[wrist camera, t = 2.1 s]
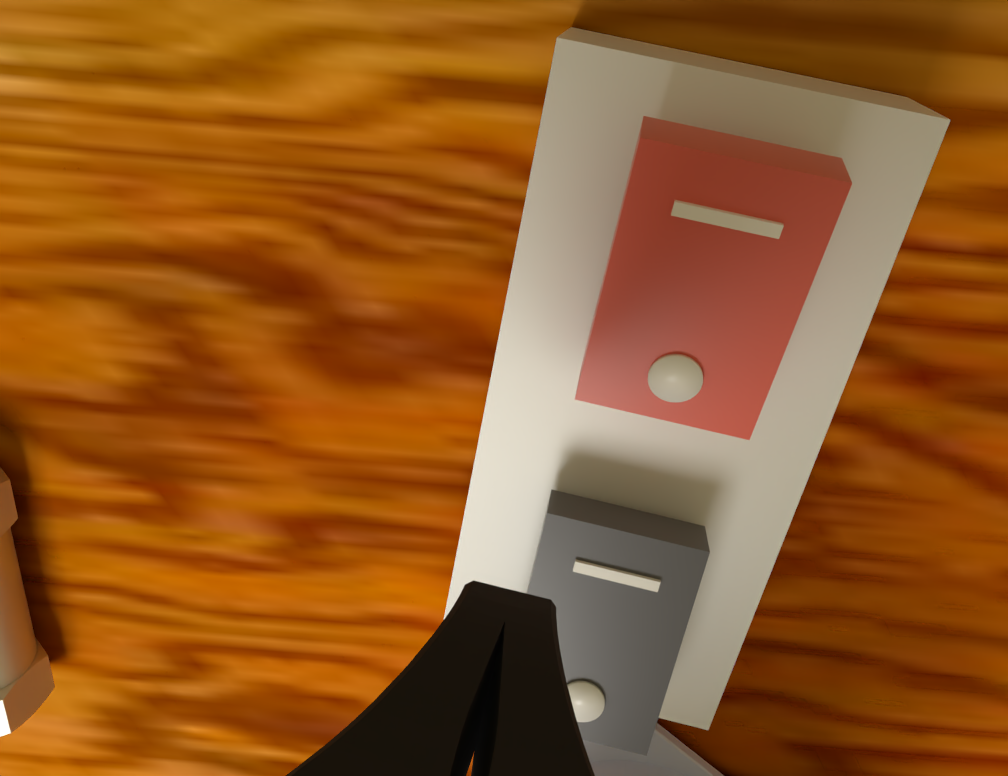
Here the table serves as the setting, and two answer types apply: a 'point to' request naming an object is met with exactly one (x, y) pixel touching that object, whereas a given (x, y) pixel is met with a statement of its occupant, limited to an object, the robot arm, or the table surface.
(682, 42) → the table surface
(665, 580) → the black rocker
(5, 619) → the pipe fitting
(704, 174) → the red rocker
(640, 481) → the rocker switch panel
